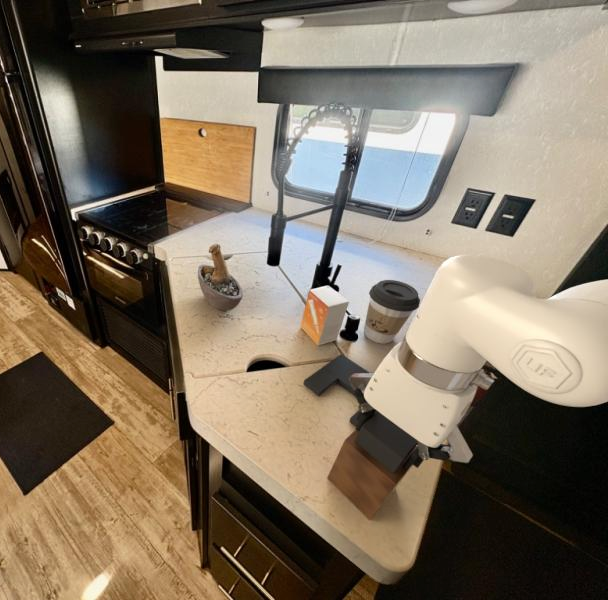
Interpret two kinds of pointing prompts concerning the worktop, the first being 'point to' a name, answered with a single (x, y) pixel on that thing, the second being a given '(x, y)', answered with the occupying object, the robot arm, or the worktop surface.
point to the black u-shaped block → (335, 378)
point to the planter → (219, 282)
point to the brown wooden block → (364, 477)
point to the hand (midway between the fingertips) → (385, 442)
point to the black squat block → (385, 441)
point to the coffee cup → (389, 309)
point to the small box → (323, 314)
